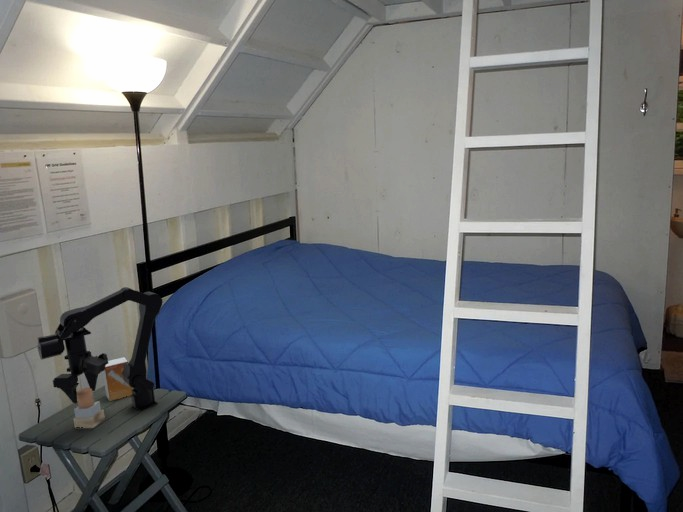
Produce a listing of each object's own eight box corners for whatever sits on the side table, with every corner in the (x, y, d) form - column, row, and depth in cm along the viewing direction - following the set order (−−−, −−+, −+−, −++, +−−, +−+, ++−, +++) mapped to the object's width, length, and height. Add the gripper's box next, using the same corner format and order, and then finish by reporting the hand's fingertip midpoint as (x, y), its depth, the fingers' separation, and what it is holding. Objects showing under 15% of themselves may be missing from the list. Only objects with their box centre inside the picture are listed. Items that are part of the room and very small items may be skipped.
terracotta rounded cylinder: (91, 401, 180) (88, 386, 179) (96, 404, 177) (94, 390, 176) (77, 406, 177) (74, 391, 176) (81, 409, 174) (79, 395, 173)
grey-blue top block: (85, 410, 181) (83, 401, 180) (101, 409, 180) (99, 401, 179) (75, 418, 175) (74, 409, 175) (91, 417, 175) (90, 408, 174)
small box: (109, 402, 194) (104, 367, 192) (106, 396, 199) (100, 362, 197) (133, 395, 198) (128, 360, 196) (129, 390, 204) (124, 356, 201)
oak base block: (87, 419, 182) (85, 409, 181) (105, 419, 181) (103, 409, 180) (74, 428, 176) (73, 418, 175) (93, 428, 174) (91, 418, 174)
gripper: (80, 361, 163) (89, 410, 166) (116, 340, 181) (123, 384, 184) (47, 361, 165) (56, 410, 168) (86, 341, 183) (93, 385, 186)
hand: (84, 396), depth 176 cm, fingers open, 9 cm apart
